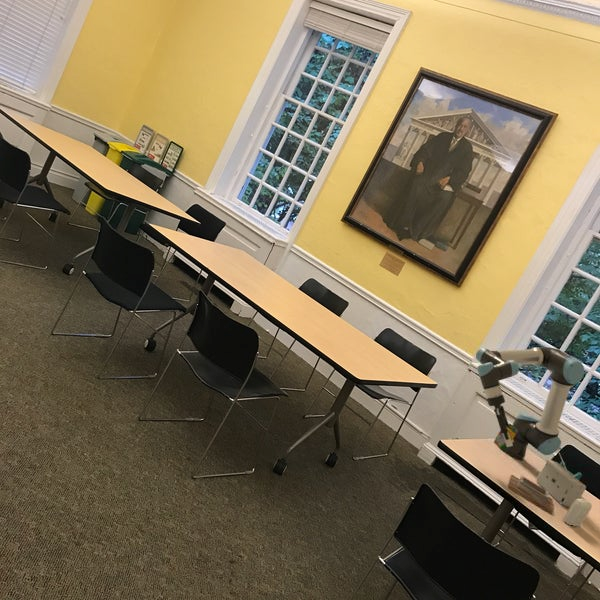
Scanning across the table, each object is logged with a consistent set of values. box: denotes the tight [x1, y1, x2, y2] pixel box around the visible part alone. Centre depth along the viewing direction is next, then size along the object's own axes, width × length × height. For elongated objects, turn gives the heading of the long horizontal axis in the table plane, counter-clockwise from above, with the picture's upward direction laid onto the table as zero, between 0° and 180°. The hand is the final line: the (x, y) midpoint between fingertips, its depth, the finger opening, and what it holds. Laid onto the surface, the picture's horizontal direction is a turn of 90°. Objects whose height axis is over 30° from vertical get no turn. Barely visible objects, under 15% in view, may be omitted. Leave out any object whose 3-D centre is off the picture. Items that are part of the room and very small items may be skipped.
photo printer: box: [562, 498, 593, 527], centre depth 253 cm, size 10×4×12 cm, turn 119°
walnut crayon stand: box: [507, 474, 554, 515], centre depth 265 cm, size 18×20×4 cm
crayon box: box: [493, 423, 518, 453], centre depth 270 cm, size 7×3×12 cm, turn 11°
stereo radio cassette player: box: [536, 449, 587, 509], centre depth 280 cm, size 21×8×20 cm, turn 16°
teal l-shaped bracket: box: [559, 461, 583, 481], centre depth 312 cm, size 18×11×10 cm, turn 157°
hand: (510, 444), depth 269 cm, fingers closed on crayon box, 7 cm apart
